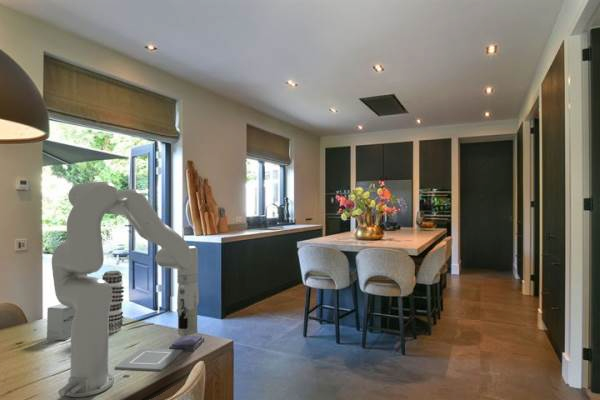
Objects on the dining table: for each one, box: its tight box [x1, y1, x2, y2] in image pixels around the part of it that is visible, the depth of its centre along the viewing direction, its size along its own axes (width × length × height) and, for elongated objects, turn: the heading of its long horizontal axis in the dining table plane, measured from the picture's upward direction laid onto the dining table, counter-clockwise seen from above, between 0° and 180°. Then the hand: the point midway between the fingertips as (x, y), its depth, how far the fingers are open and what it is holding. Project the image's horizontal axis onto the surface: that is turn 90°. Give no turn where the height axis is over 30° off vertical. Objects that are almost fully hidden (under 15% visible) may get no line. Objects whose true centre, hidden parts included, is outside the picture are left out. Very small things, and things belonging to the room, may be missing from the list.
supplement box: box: [46, 303, 76, 341], centre depth 147 cm, size 7×7×13 cm
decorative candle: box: [101, 270, 125, 334], centre depth 155 cm, size 9×9×25 cm
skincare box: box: [177, 302, 198, 337], centre depth 137 cm, size 6×4×12 cm
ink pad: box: [169, 335, 205, 352], centre depth 137 cm, size 10×9×2 cm
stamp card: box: [114, 347, 184, 372], centre depth 124 cm, size 16×16×1 cm
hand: (187, 324), depth 137 cm, fingers closed on skincare box, 7 cm apart
